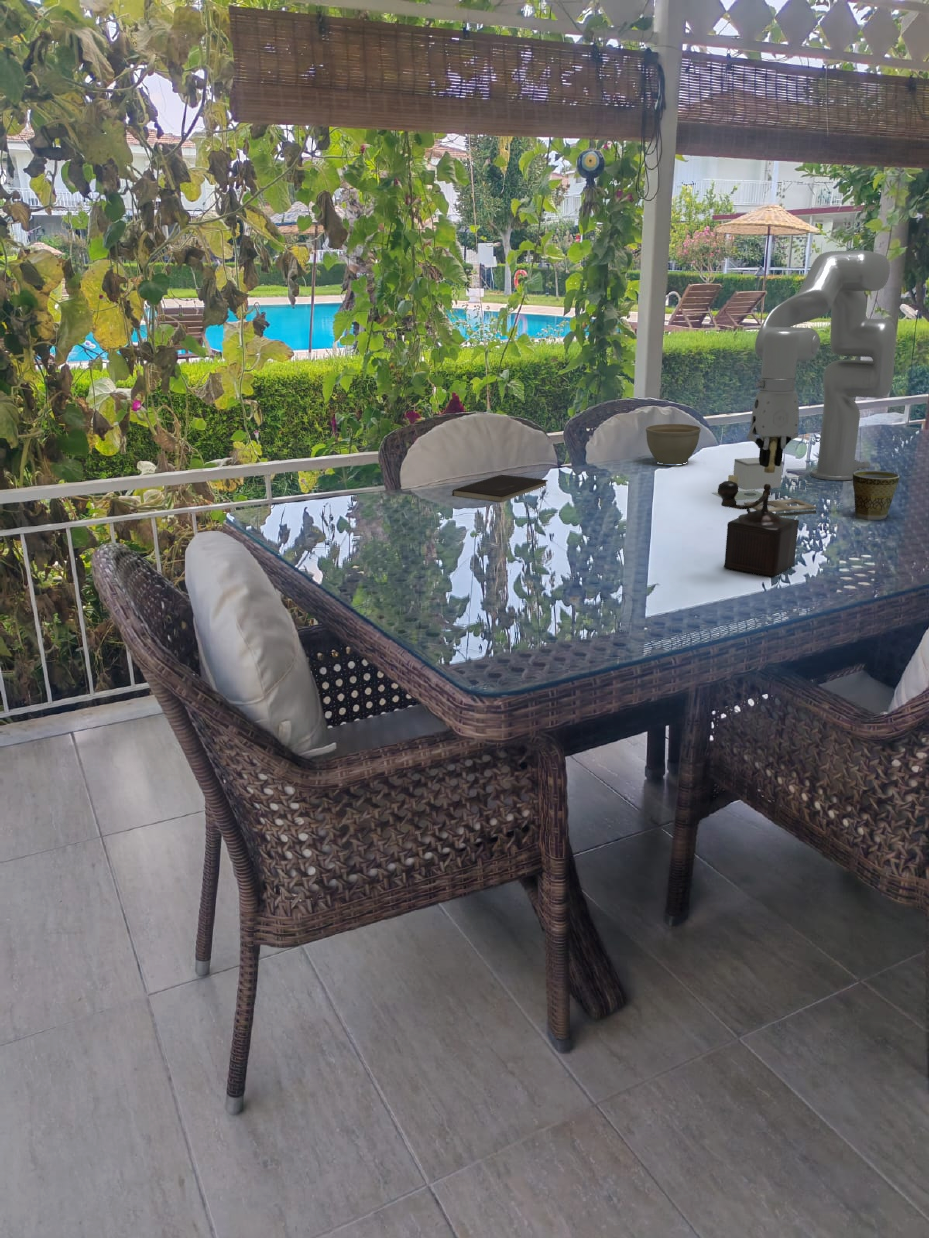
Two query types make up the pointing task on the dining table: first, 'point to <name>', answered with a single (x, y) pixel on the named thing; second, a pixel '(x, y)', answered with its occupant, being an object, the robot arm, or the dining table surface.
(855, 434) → the robot arm
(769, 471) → the brass pin
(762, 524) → the manual coffee grinder
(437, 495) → the dining table surface
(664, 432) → the planter bowl
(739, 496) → the pad
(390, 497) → the dining table surface
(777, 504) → the board
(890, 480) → the ceramic cup
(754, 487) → the block
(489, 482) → the hardcover book
